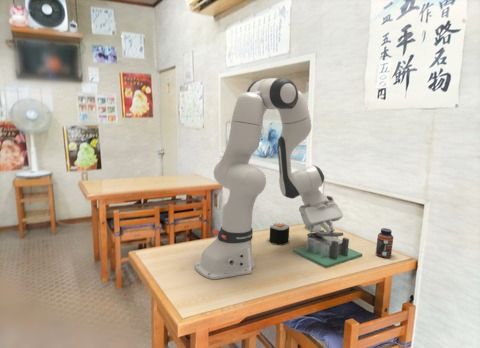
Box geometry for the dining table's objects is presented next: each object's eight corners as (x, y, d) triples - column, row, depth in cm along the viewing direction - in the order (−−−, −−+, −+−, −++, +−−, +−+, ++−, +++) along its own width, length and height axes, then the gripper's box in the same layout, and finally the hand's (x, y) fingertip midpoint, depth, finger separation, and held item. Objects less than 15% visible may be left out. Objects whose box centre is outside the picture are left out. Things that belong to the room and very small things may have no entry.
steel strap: (336, 236, 135) (336, 234, 135) (312, 235, 146) (312, 233, 146) (343, 235, 137) (343, 232, 137) (319, 233, 148) (319, 231, 148)
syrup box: (304, 228, 174) (306, 200, 171) (314, 227, 176) (316, 199, 174) (311, 231, 168) (313, 203, 166) (321, 230, 171) (323, 202, 168)
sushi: (291, 241, 155) (292, 224, 154) (281, 246, 149) (282, 228, 147) (276, 236, 160) (277, 220, 159) (266, 241, 154) (266, 224, 153)
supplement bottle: (388, 259, 138) (391, 233, 136) (373, 255, 142) (376, 229, 140) (393, 255, 143) (396, 229, 141) (378, 251, 147) (381, 226, 145)
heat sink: (325, 259, 134) (326, 244, 133) (302, 248, 144) (303, 234, 143) (348, 252, 142) (349, 237, 141) (324, 242, 152) (326, 228, 151)
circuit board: (325, 268, 129) (325, 265, 129) (292, 251, 143) (293, 249, 143) (362, 256, 141) (362, 253, 141) (328, 242, 156) (328, 239, 155)
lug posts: (334, 259, 134) (335, 242, 133) (330, 257, 136) (331, 241, 134) (347, 255, 139) (349, 239, 137) (343, 253, 140) (345, 237, 139)
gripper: (301, 202, 138) (318, 232, 132) (335, 196, 149) (352, 224, 143) (293, 210, 142) (308, 240, 136) (326, 204, 154) (342, 231, 148)
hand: (331, 232), depth 140 cm, fingers closed, pressing on steel strap
